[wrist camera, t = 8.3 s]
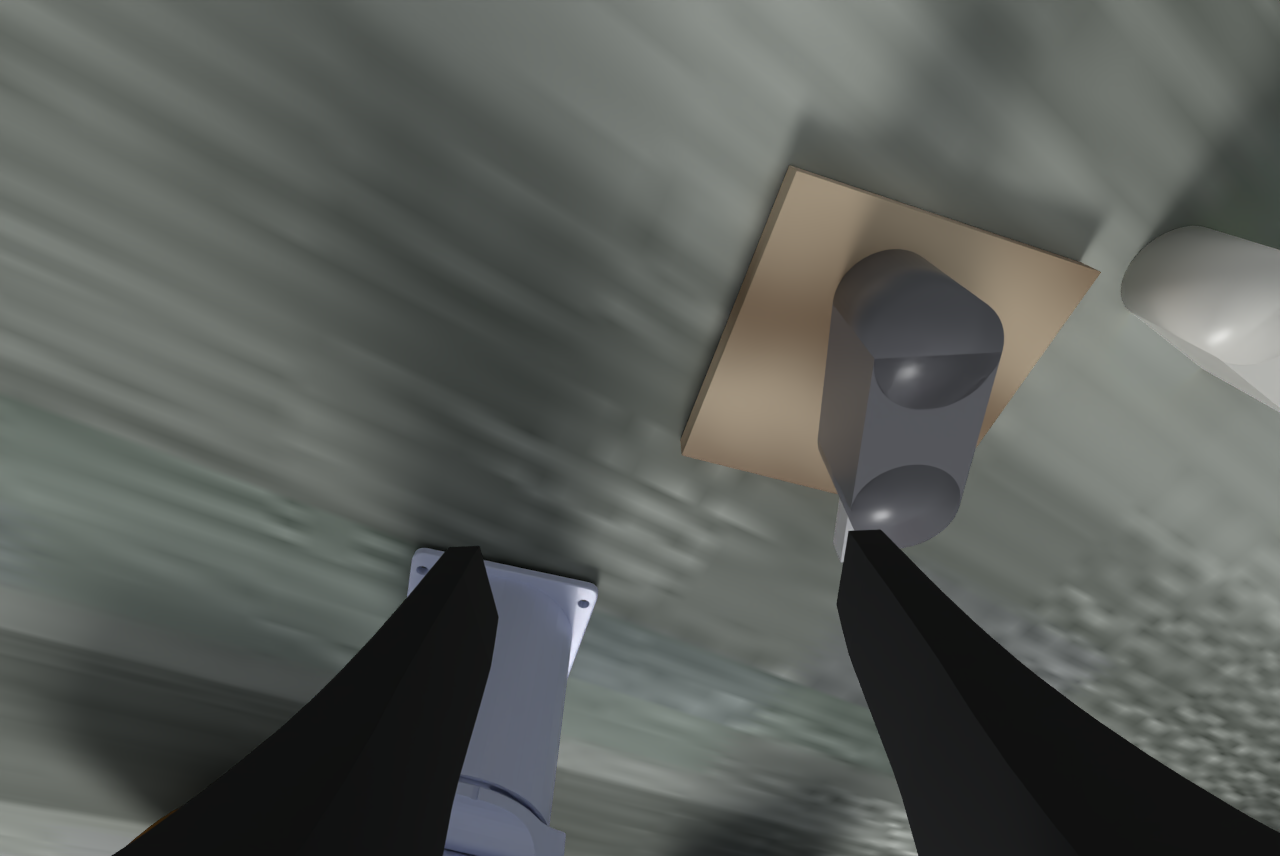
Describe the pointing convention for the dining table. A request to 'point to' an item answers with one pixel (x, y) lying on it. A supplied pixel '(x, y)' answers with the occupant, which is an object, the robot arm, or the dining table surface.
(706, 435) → the cork pad
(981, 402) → the charcoal plug
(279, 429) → the dining table surface
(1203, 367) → the offwhite plug
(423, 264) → the dining table surface
